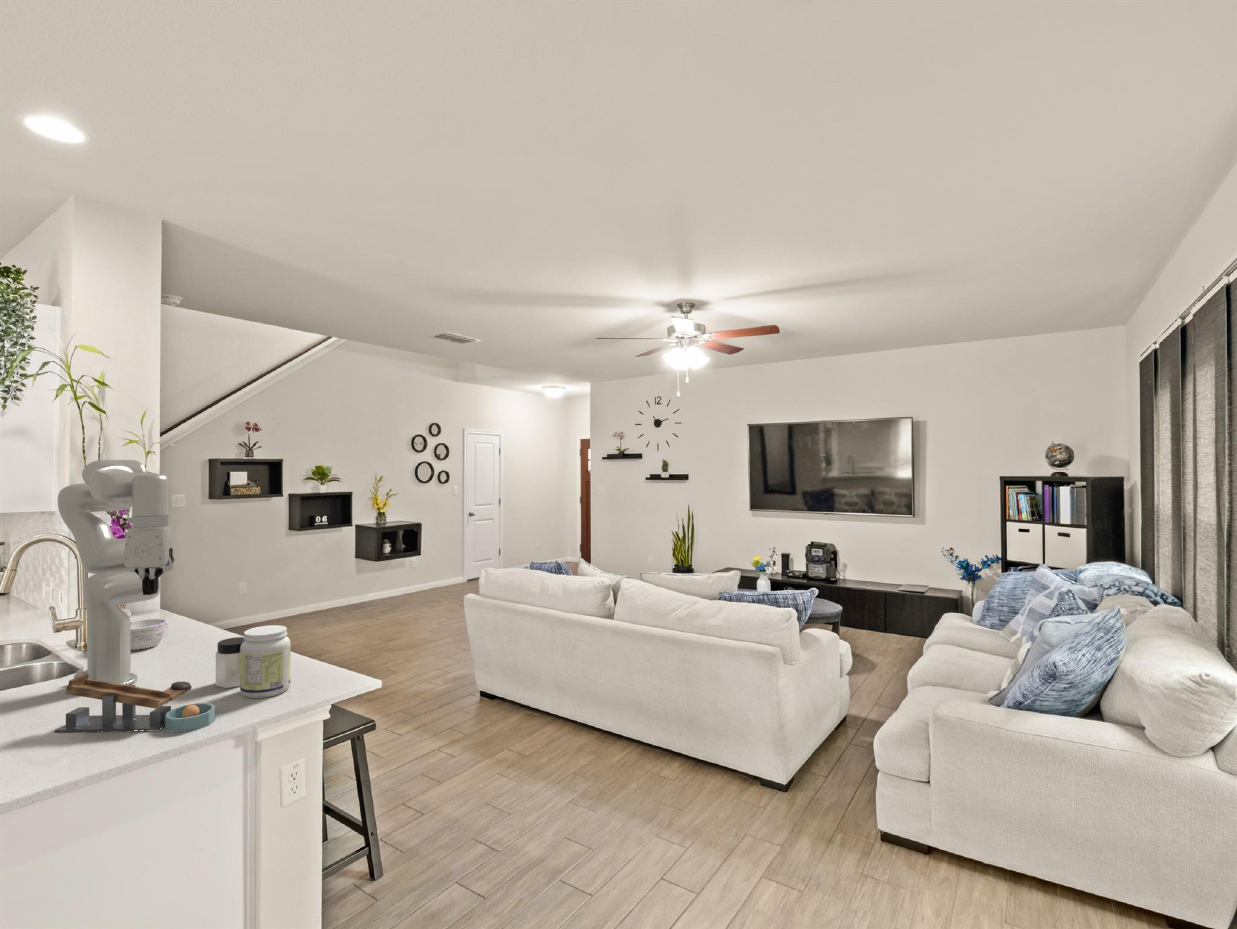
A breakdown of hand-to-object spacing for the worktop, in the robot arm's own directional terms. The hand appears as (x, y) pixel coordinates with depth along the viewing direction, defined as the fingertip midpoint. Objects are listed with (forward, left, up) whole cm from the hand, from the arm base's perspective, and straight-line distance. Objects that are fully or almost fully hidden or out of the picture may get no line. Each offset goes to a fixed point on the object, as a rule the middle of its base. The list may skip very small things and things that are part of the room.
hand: (150, 593), depth 165 cm
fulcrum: (0, -11, -29) cm, 31 cm away
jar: (+12, +17, -29) cm, 36 cm away
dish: (+16, -11, -29) cm, 35 cm away
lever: (0, -7, -23) cm, 24 cm away
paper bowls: (-38, +54, -29) cm, 72 cm away
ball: (+17, -11, -26) cm, 33 cm away
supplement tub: (+24, +10, -29) cm, 39 cm away
